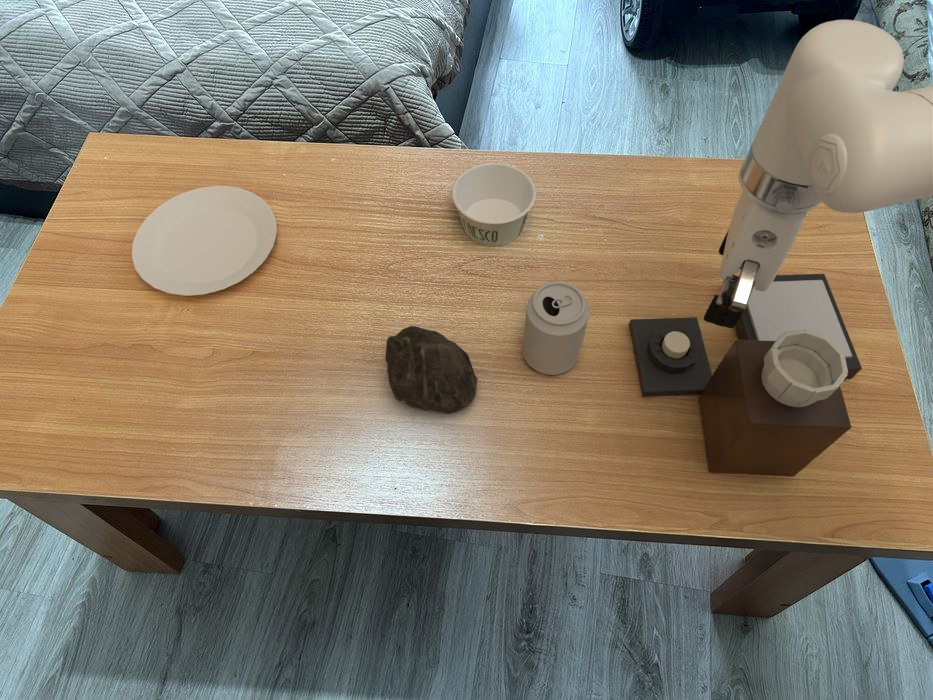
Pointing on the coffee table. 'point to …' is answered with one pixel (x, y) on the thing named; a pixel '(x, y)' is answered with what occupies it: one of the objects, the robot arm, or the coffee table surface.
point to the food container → (493, 202)
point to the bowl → (803, 368)
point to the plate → (204, 240)
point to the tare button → (675, 344)
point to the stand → (762, 419)
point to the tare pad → (665, 372)
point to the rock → (429, 371)
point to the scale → (796, 313)
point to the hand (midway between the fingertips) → (725, 288)
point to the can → (554, 327)
